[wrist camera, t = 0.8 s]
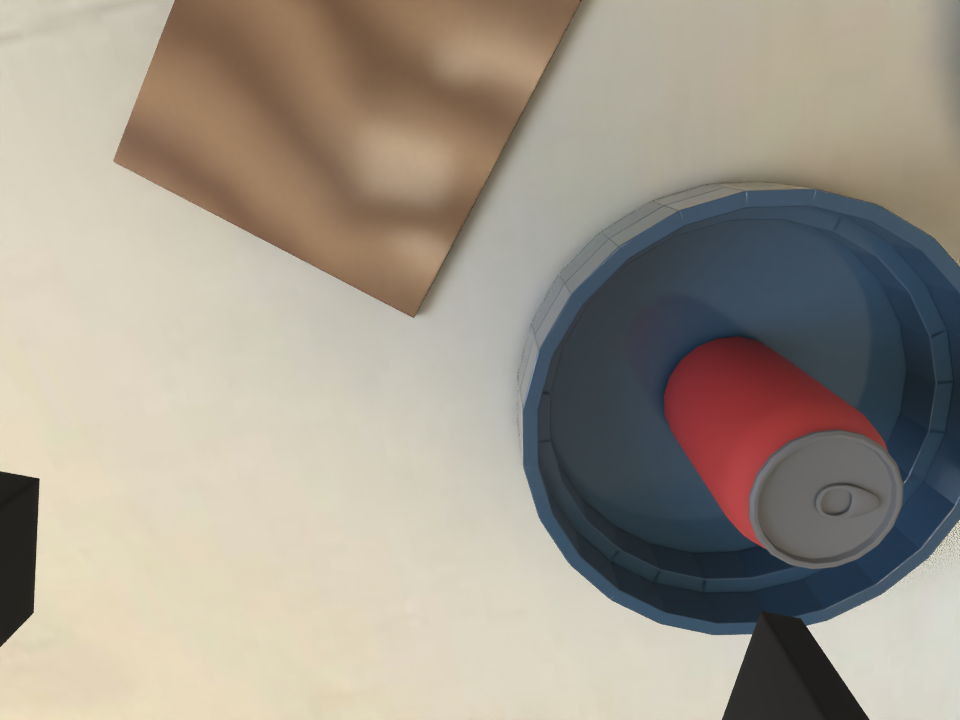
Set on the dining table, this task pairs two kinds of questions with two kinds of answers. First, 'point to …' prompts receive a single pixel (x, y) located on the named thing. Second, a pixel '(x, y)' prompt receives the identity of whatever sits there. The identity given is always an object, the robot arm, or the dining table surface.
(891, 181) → the dining table surface
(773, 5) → the dining table surface
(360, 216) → the wooden cutting board
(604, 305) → the blue bowl
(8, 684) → the dining table surface
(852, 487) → the beer can
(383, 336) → the dining table surface
